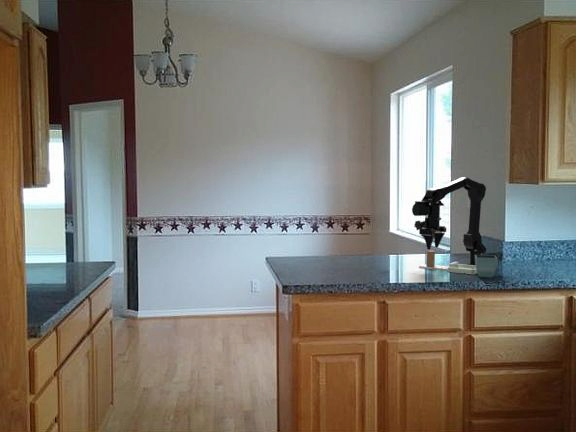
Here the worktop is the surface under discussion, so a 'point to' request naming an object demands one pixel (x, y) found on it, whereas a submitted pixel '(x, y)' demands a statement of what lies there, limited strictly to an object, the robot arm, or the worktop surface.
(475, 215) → the robot arm
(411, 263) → the worktop surface
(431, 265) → the metal bookend
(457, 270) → the corral
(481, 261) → the flower pot
